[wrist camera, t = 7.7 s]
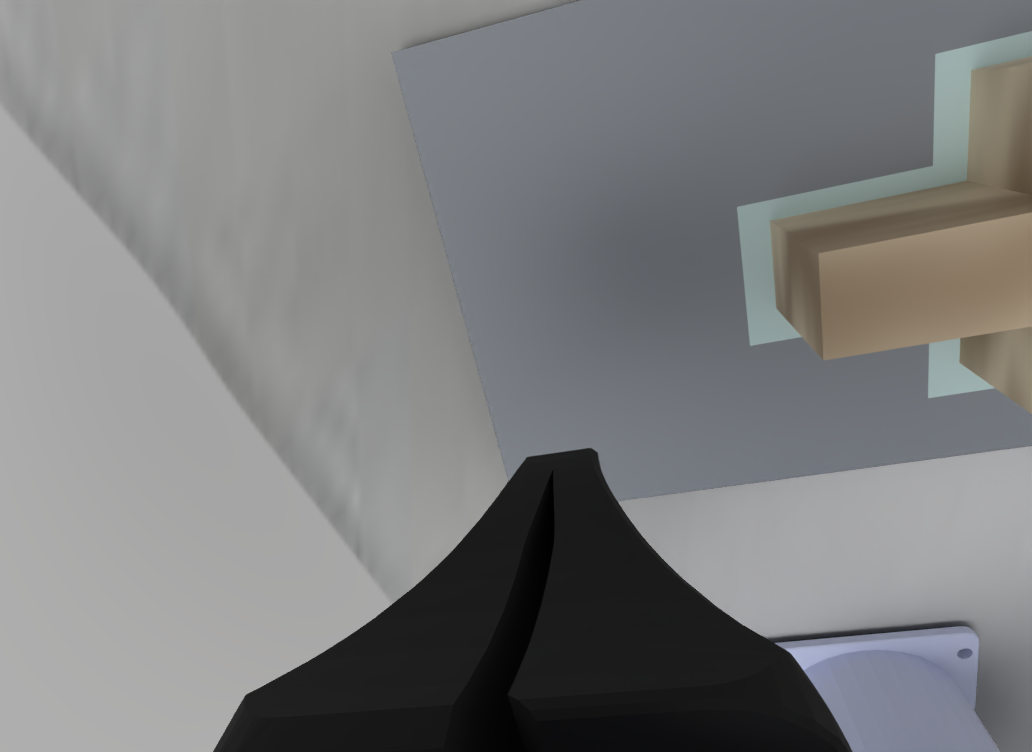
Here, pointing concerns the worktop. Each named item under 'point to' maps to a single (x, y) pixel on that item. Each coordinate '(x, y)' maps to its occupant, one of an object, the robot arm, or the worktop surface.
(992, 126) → the t block
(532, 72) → the board
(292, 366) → the worktop surface
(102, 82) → the worktop surface
